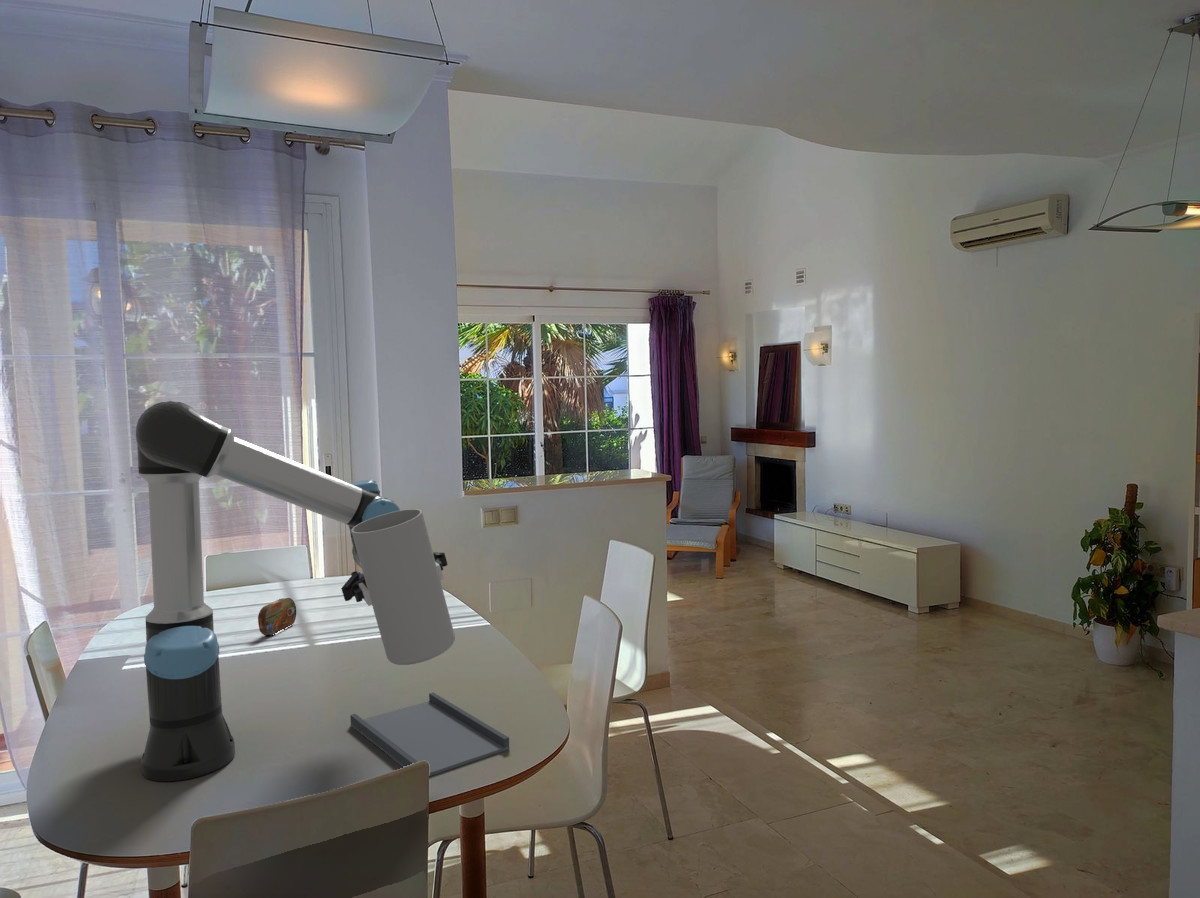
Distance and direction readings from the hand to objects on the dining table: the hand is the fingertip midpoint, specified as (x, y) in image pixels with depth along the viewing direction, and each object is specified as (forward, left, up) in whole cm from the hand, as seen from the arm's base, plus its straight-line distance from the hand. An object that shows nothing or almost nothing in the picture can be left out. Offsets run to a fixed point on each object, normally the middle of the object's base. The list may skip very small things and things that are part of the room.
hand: (404, 585), depth 149 cm
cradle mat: (+7, +2, -31) cm, 32 cm away
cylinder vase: (+3, -1, -13) cm, 13 cm away
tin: (+54, +82, -31) cm, 103 cm away
